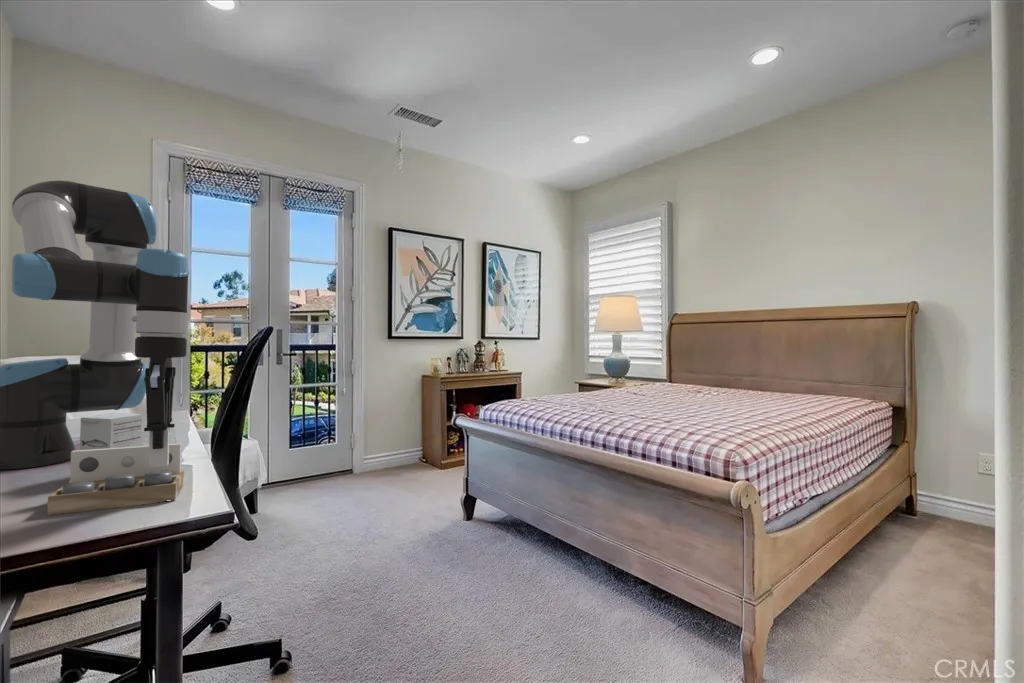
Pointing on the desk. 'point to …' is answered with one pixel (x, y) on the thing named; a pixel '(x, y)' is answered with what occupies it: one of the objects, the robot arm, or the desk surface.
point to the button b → (119, 481)
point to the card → (118, 462)
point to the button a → (79, 487)
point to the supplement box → (111, 431)
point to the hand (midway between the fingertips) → (158, 465)
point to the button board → (114, 496)
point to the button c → (158, 478)
